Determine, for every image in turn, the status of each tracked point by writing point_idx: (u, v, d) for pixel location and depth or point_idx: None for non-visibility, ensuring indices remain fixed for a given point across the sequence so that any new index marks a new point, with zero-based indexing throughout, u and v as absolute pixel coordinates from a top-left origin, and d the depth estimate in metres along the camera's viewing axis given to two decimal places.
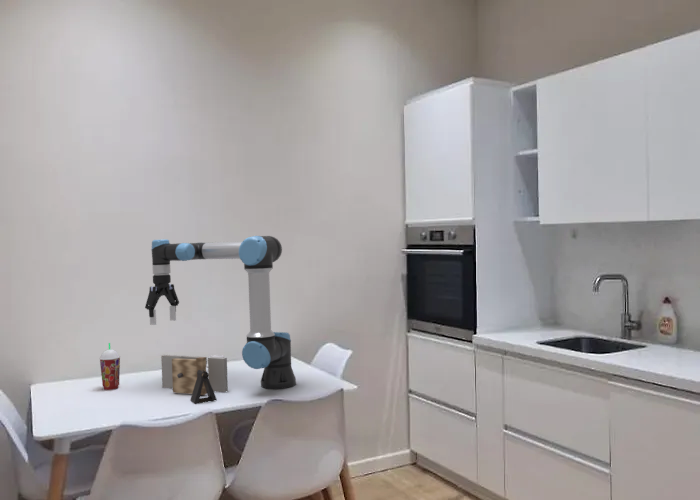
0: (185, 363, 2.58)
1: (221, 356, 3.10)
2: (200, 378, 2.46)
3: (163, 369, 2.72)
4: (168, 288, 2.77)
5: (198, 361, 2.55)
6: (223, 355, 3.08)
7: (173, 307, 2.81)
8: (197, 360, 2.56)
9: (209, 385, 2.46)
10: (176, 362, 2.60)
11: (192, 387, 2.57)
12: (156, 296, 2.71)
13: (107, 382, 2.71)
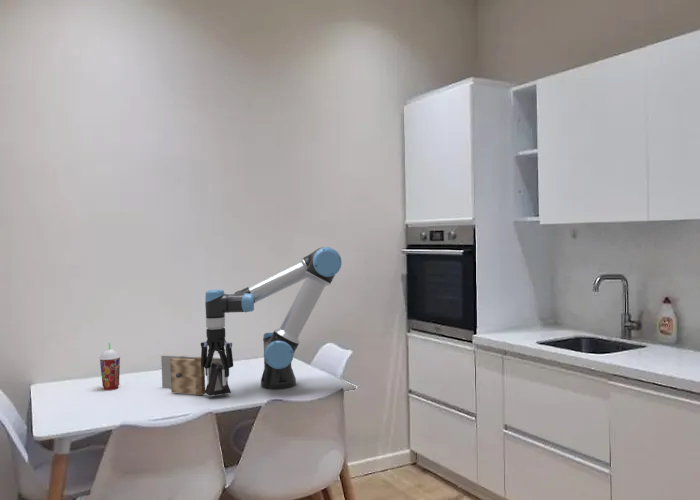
0: (183, 363, 2.59)
1: None
2: (215, 371, 2.51)
3: (163, 369, 2.72)
4: (217, 345, 2.51)
5: (197, 360, 2.56)
6: None
7: None
8: (195, 360, 2.56)
9: None
10: (174, 362, 2.60)
11: (190, 387, 2.58)
12: None
13: (107, 382, 2.71)
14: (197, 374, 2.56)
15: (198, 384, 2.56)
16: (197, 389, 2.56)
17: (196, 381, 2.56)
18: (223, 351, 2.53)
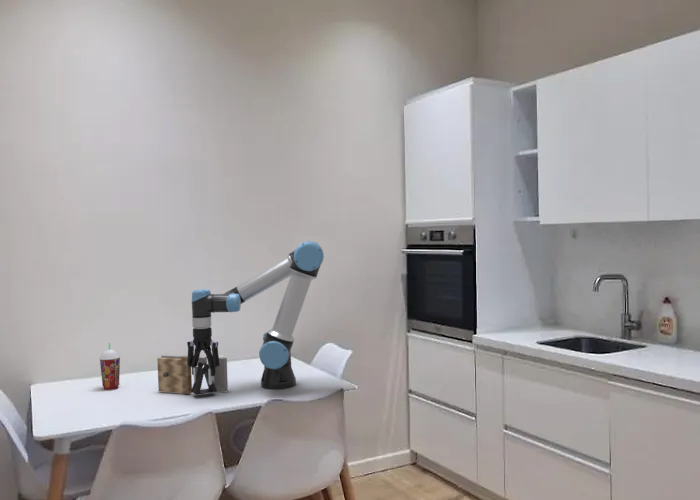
0: (170, 362, 2.61)
1: (221, 356, 3.10)
2: (201, 370, 2.54)
3: None
4: (203, 344, 2.53)
5: (184, 360, 2.58)
6: (223, 355, 3.08)
7: None
8: (182, 359, 2.58)
9: None
10: (162, 361, 2.63)
11: (177, 386, 2.60)
12: None
13: (107, 382, 2.71)
14: (184, 373, 2.58)
15: (185, 383, 2.58)
16: (184, 388, 2.58)
17: (183, 380, 2.58)
18: (209, 350, 2.55)
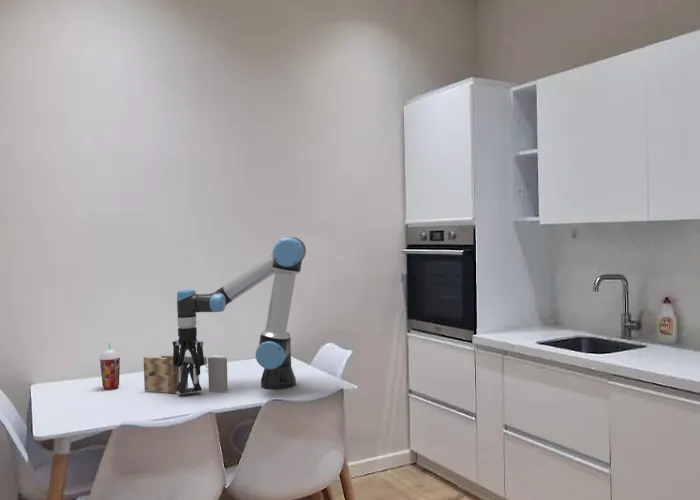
0: (156, 361, 2.64)
1: (221, 356, 3.10)
2: (186, 369, 2.56)
3: None
4: (188, 343, 2.56)
5: (169, 359, 2.61)
6: (223, 355, 3.08)
7: None
8: (168, 358, 2.61)
9: None
10: (148, 360, 2.65)
11: (163, 385, 2.63)
12: None
13: (107, 382, 2.71)
14: (169, 372, 2.61)
15: (170, 382, 2.61)
16: (169, 387, 2.61)
17: (168, 379, 2.61)
18: (194, 350, 2.58)
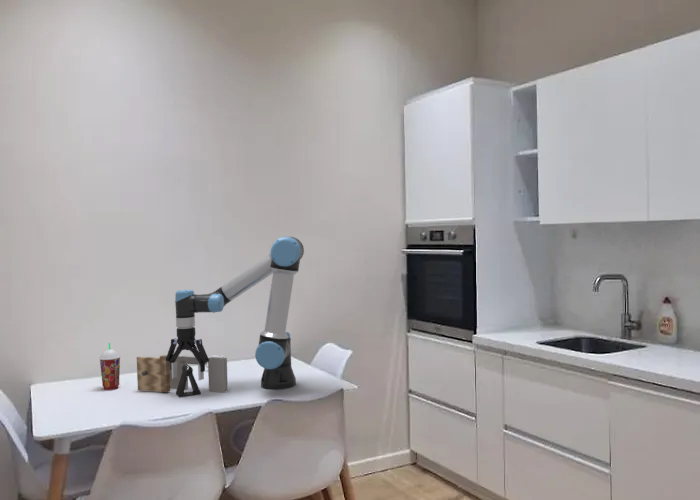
0: (149, 361, 2.65)
1: (221, 356, 3.10)
2: (185, 373, 2.57)
3: None
4: (187, 343, 2.56)
5: (162, 359, 2.62)
6: (223, 355, 3.08)
7: None
8: (160, 358, 2.62)
9: (193, 379, 2.57)
10: (141, 360, 2.67)
11: (156, 384, 2.64)
12: None
13: (107, 382, 2.71)
14: (162, 372, 2.62)
15: (163, 382, 2.62)
16: (162, 386, 2.62)
17: (161, 379, 2.62)
18: (195, 348, 2.58)
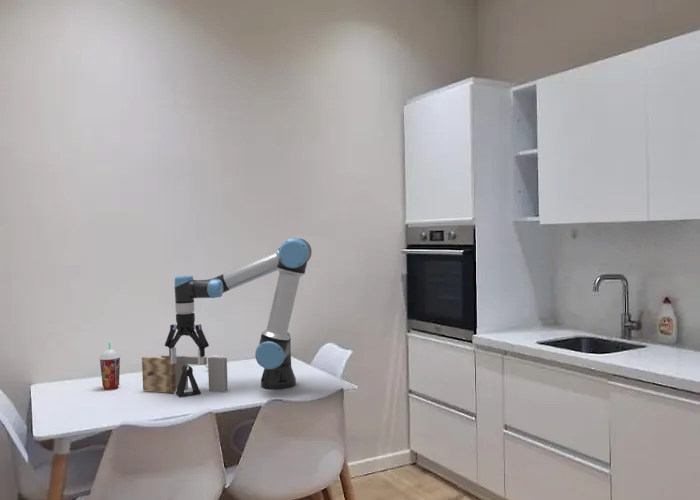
0: (155, 361, 2.64)
1: (221, 356, 3.10)
2: (185, 373, 2.57)
3: None
4: (186, 329, 2.56)
5: (167, 359, 2.61)
6: (223, 355, 3.08)
7: None
8: (166, 358, 2.61)
9: (193, 379, 2.57)
10: (146, 360, 2.66)
11: (161, 385, 2.63)
12: None
13: (107, 382, 2.71)
14: (168, 372, 2.61)
15: (168, 382, 2.61)
16: (168, 387, 2.61)
17: (167, 379, 2.61)
18: (194, 334, 2.58)
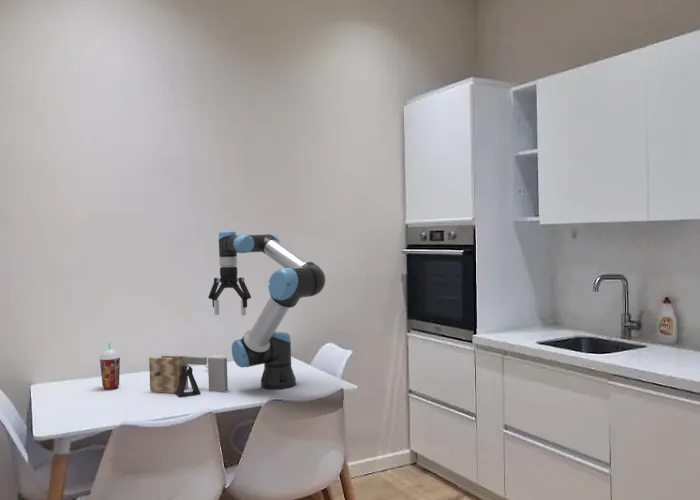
0: (162, 362, 2.63)
1: (221, 356, 3.10)
2: (184, 373, 2.57)
3: None
4: (230, 281, 2.70)
5: (175, 359, 2.60)
6: (223, 355, 3.08)
7: None
8: (173, 359, 2.60)
9: (193, 379, 2.57)
10: (153, 361, 2.64)
11: (169, 385, 2.62)
12: None
13: (107, 382, 2.71)
14: (175, 373, 2.60)
15: (176, 383, 2.60)
16: (175, 387, 2.60)
17: (174, 380, 2.60)
18: (237, 286, 2.71)
